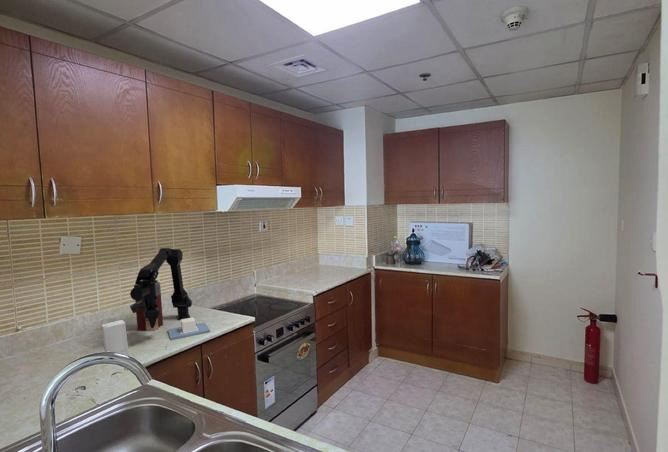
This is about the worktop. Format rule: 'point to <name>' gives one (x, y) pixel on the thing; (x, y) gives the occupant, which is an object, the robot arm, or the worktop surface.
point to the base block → (188, 325)
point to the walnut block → (150, 326)
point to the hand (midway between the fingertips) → (152, 326)
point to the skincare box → (115, 337)
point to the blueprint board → (177, 332)
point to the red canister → (140, 314)
